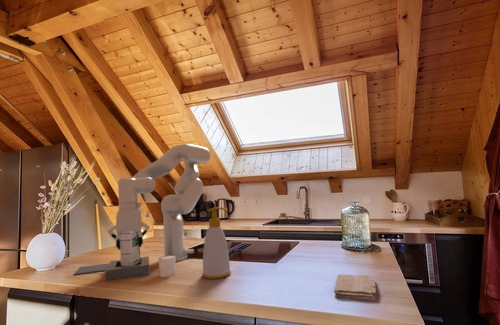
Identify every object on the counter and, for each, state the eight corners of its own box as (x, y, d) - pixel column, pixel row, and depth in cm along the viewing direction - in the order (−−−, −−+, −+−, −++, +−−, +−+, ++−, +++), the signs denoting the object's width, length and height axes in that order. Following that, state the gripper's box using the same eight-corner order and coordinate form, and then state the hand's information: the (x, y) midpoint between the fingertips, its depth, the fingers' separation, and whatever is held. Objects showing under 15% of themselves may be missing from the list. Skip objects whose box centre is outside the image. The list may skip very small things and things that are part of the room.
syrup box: (132, 266, 119) (131, 230, 120) (120, 266, 120) (119, 231, 121) (140, 262, 124) (139, 228, 125) (128, 262, 126) (127, 228, 126)
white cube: (179, 272, 117) (179, 255, 118) (169, 278, 111) (169, 259, 111) (165, 272, 119) (165, 254, 120) (155, 277, 113) (154, 259, 114)
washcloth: (334, 300, 84) (333, 289, 84) (337, 280, 101) (336, 271, 101) (378, 304, 80) (377, 292, 80) (373, 282, 97) (372, 273, 97)
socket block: (148, 265, 131) (148, 256, 132) (149, 274, 116) (148, 264, 117) (110, 270, 126) (110, 261, 126) (105, 281, 111) (105, 270, 111)
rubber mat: (108, 264, 137) (108, 263, 137) (105, 271, 125) (105, 269, 125) (80, 268, 132) (80, 266, 132) (73, 275, 121) (73, 273, 121)
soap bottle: (224, 280, 105) (221, 208, 107) (196, 278, 109) (194, 209, 111) (236, 271, 115) (233, 206, 117) (210, 269, 119) (208, 206, 121)
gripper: (149, 204, 130) (151, 243, 129) (107, 207, 124) (108, 248, 123) (149, 205, 123) (151, 246, 122) (104, 209, 117) (106, 252, 116)
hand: (129, 247), depth 123 cm, fingers closed on syrup box, 7 cm apart
